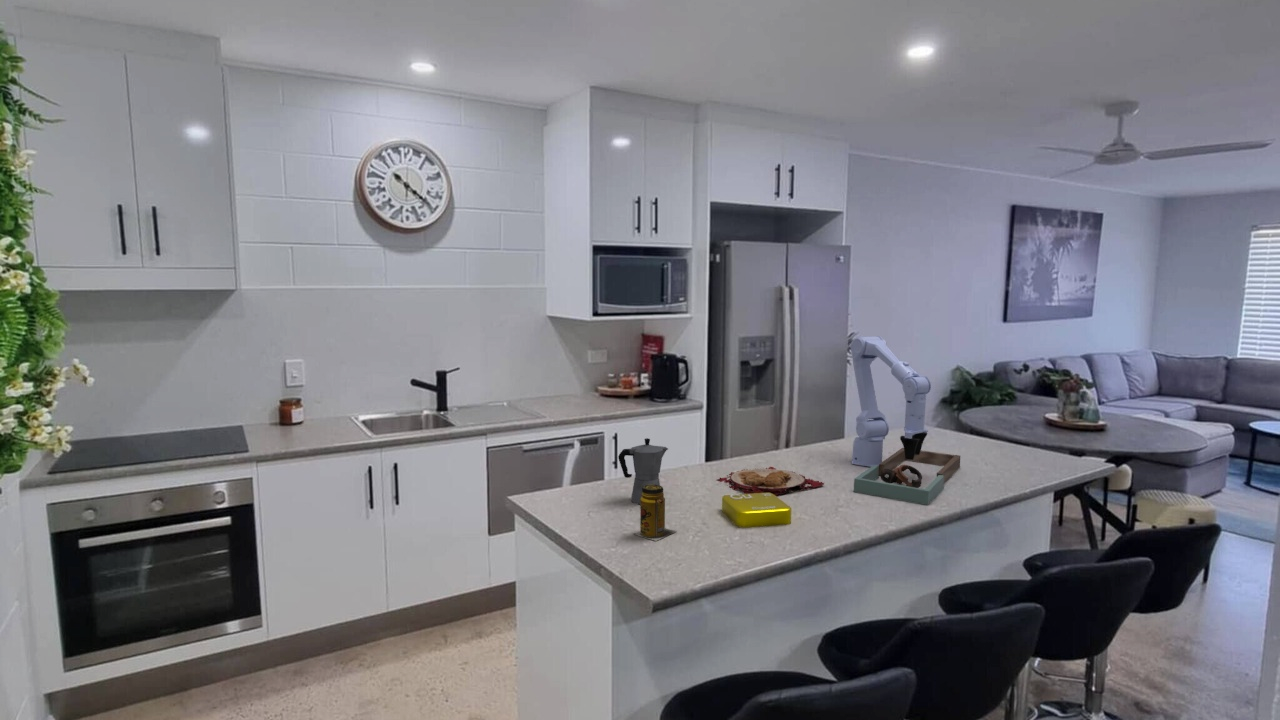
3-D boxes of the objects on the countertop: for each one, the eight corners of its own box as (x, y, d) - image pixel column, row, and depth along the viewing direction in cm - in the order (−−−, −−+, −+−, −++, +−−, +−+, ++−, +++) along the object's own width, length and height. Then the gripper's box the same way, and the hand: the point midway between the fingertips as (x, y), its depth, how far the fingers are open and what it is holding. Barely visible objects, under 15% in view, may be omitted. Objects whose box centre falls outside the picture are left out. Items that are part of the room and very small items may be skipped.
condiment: (632, 534, 169) (633, 487, 168) (654, 525, 176) (654, 479, 174) (655, 541, 164) (656, 493, 163) (677, 532, 171) (677, 485, 170)
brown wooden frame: (878, 476, 222) (879, 464, 221) (902, 458, 244) (902, 447, 244) (941, 486, 211) (942, 473, 210) (959, 467, 233) (960, 455, 233)
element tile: (738, 529, 174) (739, 511, 173) (719, 510, 189) (720, 493, 188) (793, 525, 177) (794, 507, 177) (770, 506, 192) (771, 490, 191)
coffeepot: (659, 492, 203) (660, 433, 201) (675, 502, 194) (675, 439, 192) (611, 499, 196) (611, 437, 194) (625, 509, 188) (625, 445, 186)
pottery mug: (909, 484, 214) (921, 465, 210) (915, 506, 206) (928, 487, 202) (872, 474, 214) (883, 455, 210) (877, 496, 206) (889, 476, 202)
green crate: (853, 491, 205) (854, 478, 205) (873, 477, 221) (874, 464, 220) (928, 505, 193) (928, 491, 192) (943, 488, 209) (944, 475, 208)
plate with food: (825, 489, 210) (826, 478, 210) (758, 500, 197) (758, 488, 196) (771, 471, 231) (771, 461, 231) (707, 480, 218) (707, 469, 217)
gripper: (922, 419, 208) (920, 463, 210) (933, 412, 220) (931, 454, 222) (898, 417, 212) (896, 459, 214) (911, 410, 224) (908, 450, 226)
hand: (912, 456), depth 218 cm, fingers open, 7 cm apart
